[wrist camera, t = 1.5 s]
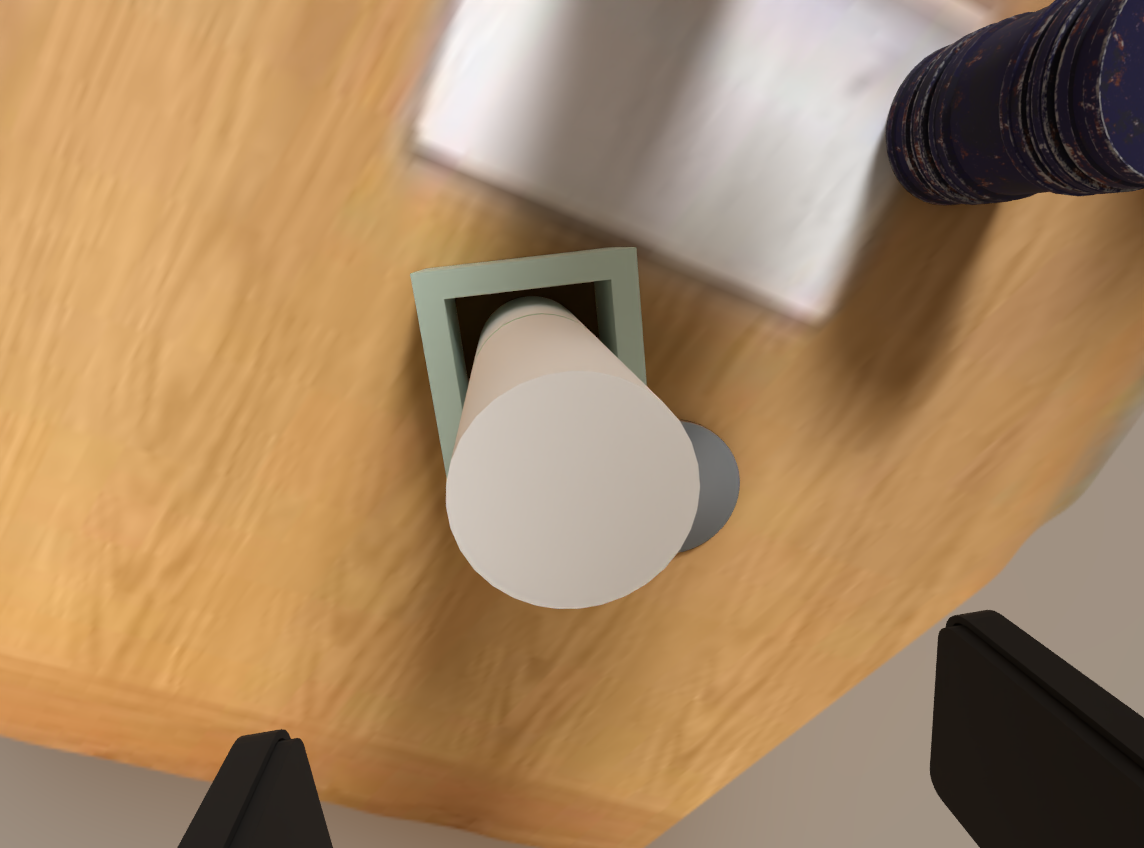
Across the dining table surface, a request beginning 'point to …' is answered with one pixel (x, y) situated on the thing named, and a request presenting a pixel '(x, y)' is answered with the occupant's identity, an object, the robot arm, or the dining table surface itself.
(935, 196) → the storage jar
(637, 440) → the cylindrical container
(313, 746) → the dining table surface
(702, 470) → the grey round disc
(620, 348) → the collar
